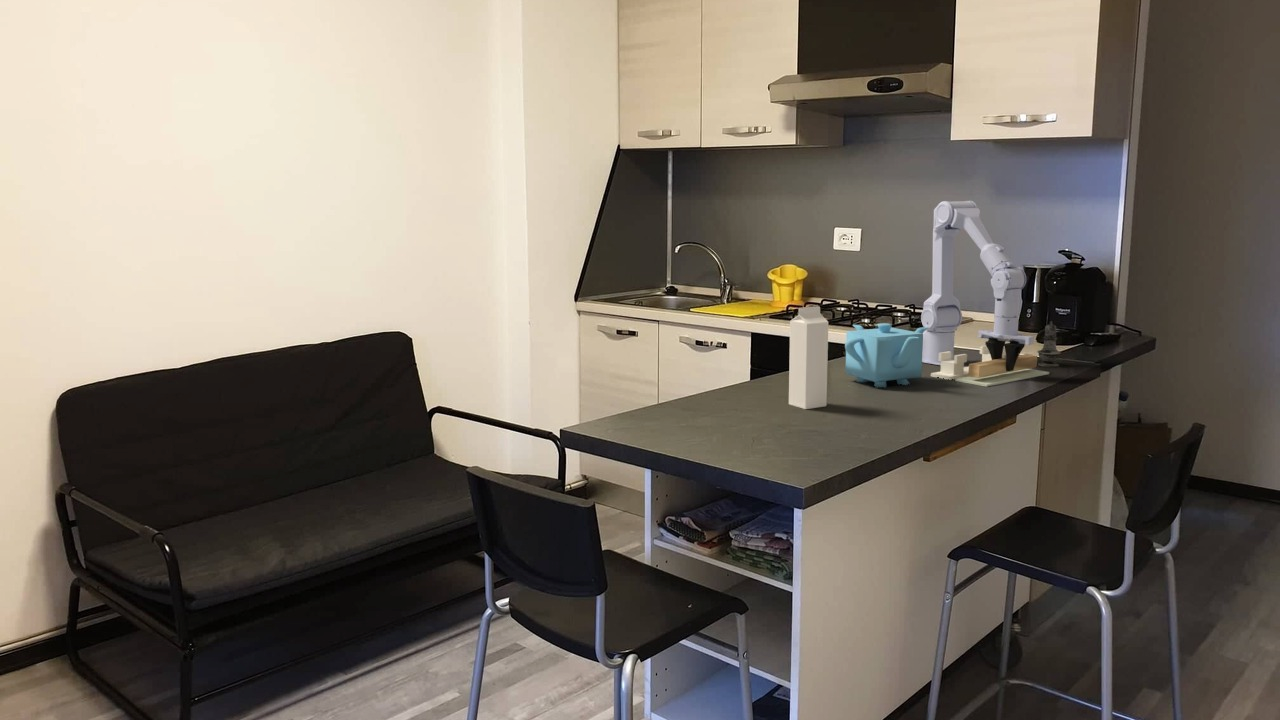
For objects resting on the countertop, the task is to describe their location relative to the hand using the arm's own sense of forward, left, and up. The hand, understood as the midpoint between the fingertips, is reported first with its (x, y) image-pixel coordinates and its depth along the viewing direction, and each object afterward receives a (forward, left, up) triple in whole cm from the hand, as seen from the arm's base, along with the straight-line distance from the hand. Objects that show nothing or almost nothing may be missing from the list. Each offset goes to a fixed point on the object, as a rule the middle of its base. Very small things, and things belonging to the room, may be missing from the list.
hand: (1003, 369), depth 243 cm
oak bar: (0, 0, 0) cm, 0 cm away
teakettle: (-14, -28, -2) cm, 31 cm away
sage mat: (0, 0, -2) cm, 2 cm away
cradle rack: (-9, 0, -2) cm, 9 cm away
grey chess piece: (-3, +24, -2) cm, 25 cm away
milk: (-7, -62, -2) cm, 62 cm away
